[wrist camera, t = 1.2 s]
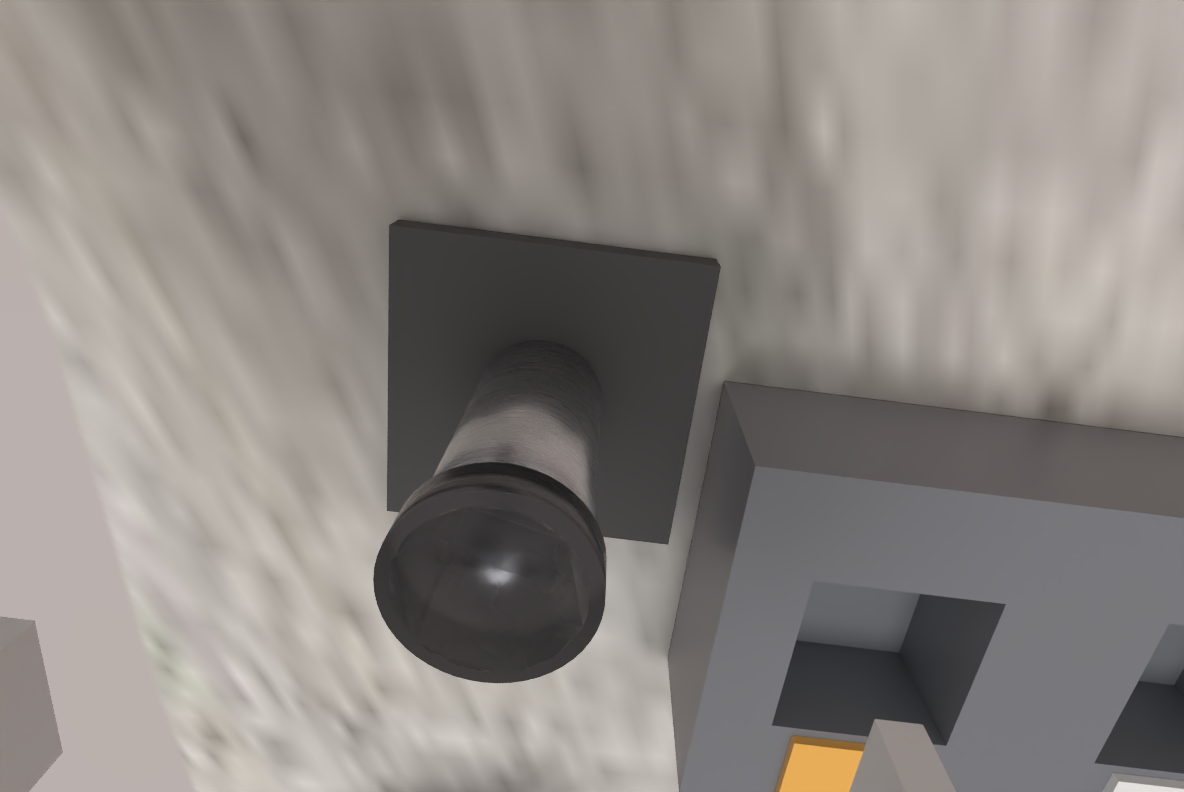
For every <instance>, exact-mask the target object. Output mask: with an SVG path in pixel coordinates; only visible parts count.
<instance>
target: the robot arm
mask: <svg viewBox="0 0 1184 792" xmlns="http://www.w3.org/2000/svg"><path fill="white" fill-rule="evenodd" d="M61 754H62V747H61V742H60V737H59V733H58V728H57V723H56V719H55V714H54V709H53V705H52V700H51V696H50V691H49V686H48V681H47V677H46V672H45V667H44V663H43V658H42V653H41V649H40V644H39V639H38V635H37V630H36V625H35V621H33V620H24V619H15V618H7V617H0V792H29V791H30V789H31V788H32V787H33V786H34V785H35V784H36V783H37V781H38V780H39V779H40V778H41V777H42V776H43V774H44V773H45V772H46V771H47V770H48V769H49V767H50V766H51V765H52V764H53V763H54V762H55V761H56V759H57V758H58V757H59V756H60V755H61ZM849 792H956V790H955V788H954V786H953V784H952V782H951V780H950V778H949V776H948V774H947V772H946V770H945V768H944V766H943V764H942V762H941V760H940V758H939V756H938V754H937V752H936V750H935V748H934V746H933V744H932V742H931V740H930V738H929V736H928V734H927V732H926V730H925V728H924V726H923V725H922V724H914V723H905V722H897V721H888V720H880V719H875V720H874V722H873V725H872V728H871V731H870V734H869V737H868V739H867V742H866V745H865V748H864V751H863V754H862V757H861V759H860V762H859V765H858V768H857V771H856V774H855V777H854V779H853V782H852V785H851V788H850V791H849Z"/></svg>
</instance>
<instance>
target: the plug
mask: <svg viewBox="0 0 1184 792" xmlns="http://www.w3.org/2000/svg"><path fill="white" fill-rule="evenodd" d="M601 403H602V395H601V388H600V383H599V381H598V378H597V376H596V374H595V372H594V370H593V369H592V367H591V366H590V365H589V363H588V362H587V361H586V360H585V359H584V358H583V357H582V356H581V355H579V354H578V353H577V352H575V351H574V350H572V349H571V348H569V347H567V346H564V345H562V344H559V343H556V342H552V341H546V340H530V341H525V342H520V343H517V344H514V345H512V346H510V347H508V348H506V349H505V350H503V351H502V352H500V353H499V354H498V355H497V356H496V357H495V358H494V359H493V360H492V361H491V362H490V364H489V365H488V367H487V368H486V370H485V372H484V374H483V376H482V378H481V380H480V382H479V384H478V386H477V388H476V390H475V392H474V394H473V397H472V399H471V401H470V403H469V405H468V407H467V409H466V411H465V413H464V415H463V417H462V419H461V421H460V423H459V425H458V427H457V429H456V431H455V433H454V435H453V437H452V439H451V441H450V443H449V445H448V447H447V449H446V451H445V453H444V455H443V457H442V459H441V461H440V464H439V466H438V468H437V470H436V472H435V474H434V476H433V478H431V479H429V480H428V481H426V482H425V483H424V484H422V485H421V486H420V487H419V488H418V489H416V490H415V491H414V492H413V494H412V495H411V496H410V497H409V498H408V499H407V500H406V502H405V504H404V505H403V507H402V508H401V510H400V512H399V514H398V515H397V517H396V519H395V521H394V523H393V525H392V527H391V529H390V530H389V532H388V534H387V536H386V538H385V540H384V542H383V544H382V546H381V548H380V551H379V553H378V555H377V559H376V563H375V567H374V579H373V580H374V592H375V597H376V601H377V605H378V607H379V610H380V612H381V615H382V617H383V619H384V621H385V622H386V624H387V626H388V628H389V629H390V630H391V632H392V633H393V634H394V636H395V637H396V638H397V639H398V640H399V641H400V642H401V643H402V644H403V645H404V646H405V648H407V649H408V650H409V651H410V652H411V653H413V654H414V655H415V656H416V657H418V658H419V659H421V660H422V661H424V662H426V663H427V664H429V665H431V666H433V667H435V668H437V669H439V670H440V671H443V672H445V673H448V674H451V675H453V676H456V677H460V678H464V679H467V680H473V681H479V682H488V683H511V682H519V681H525V680H529V679H533V678H537V677H540V676H543V675H546V674H548V673H551V672H553V671H555V670H557V669H559V668H561V667H562V666H564V665H565V664H567V663H568V662H570V661H571V660H573V659H574V658H575V657H576V656H577V655H578V654H579V653H581V652H582V651H583V650H584V648H585V647H586V646H587V645H588V644H589V642H590V641H591V640H592V638H593V636H594V635H595V633H596V631H597V629H598V627H599V624H600V622H601V620H602V616H603V612H604V607H605V591H606V548H605V543H604V539H603V535H602V532H601V530H600V528H599V525H598V523H597V521H596V519H595V505H596V488H597V471H598V454H599V437H600V420H601Z"/></svg>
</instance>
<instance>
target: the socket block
mask: <svg viewBox="0 0 1184 792" xmlns="http://www.w3.org/2000/svg"><path fill="white" fill-rule="evenodd" d="M668 668H669V679H670V691H671V703H672V714H673V726H674V738H675V749H676V761H677V773H678V784H679V792H849V791H850V788H851V785H852V782H853V779H854V777H855V774H856V771H857V768H858V765H859V762H860V759H861V757H862V754H863V751H864V748H865V745H866V742H867V739H868V737H869V734H870V731H871V728H872V725H873V722H874V720H875V719H880V720H888V721H897V722H905V723H914V724H922V725H923V726H924V728H925V730H926V732H927V734H928V736H929V738H930V740H931V742H932V744H933V746H934V748H935V750H936V752H937V754H938V756H939V758H940V760H941V762H942V764H943V766H944V768H945V770H946V772H947V774H948V776H949V778H950V780H951V782H952V784H953V786H954V788H955V790H956V792H1184V438H1181V437H1173V436H1165V435H1157V434H1149V433H1141V432H1133V431H1124V430H1116V429H1108V428H1100V427H1092V426H1084V425H1076V424H1068V423H1059V422H1051V421H1043V420H1035V419H1027V418H1019V417H1011V416H1002V415H994V414H986V413H978V412H970V411H962V410H954V409H946V408H937V407H929V406H921V405H913V404H905V403H897V402H889V401H881V400H872V399H864V398H856V397H848V396H840V395H832V394H824V393H815V392H807V391H799V390H791V389H783V388H775V387H767V386H759V385H750V384H742V383H734V382H726V381H724V384H723V389H722V394H721V399H720V404H719V409H718V414H717V419H716V424H715V428H714V433H713V438H712V443H711V448H710V453H709V458H708V463H707V468H706V473H705V478H704V483H703V487H702V492H701V497H700V502H699V507H698V512H697V517H696V522H695V527H694V532H693V537H692V542H691V546H690V551H689V556H688V561H687V566H686V571H685V576H684V581H683V586H682V591H681V596H680V601H679V605H678V610H677V615H676V620H675V625H674V630H673V635H672V640H671V645H670V650H669V655H668Z"/></svg>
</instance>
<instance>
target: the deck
mask: <svg viewBox="0 0 1184 792" xmlns="http://www.w3.org/2000/svg"><path fill="white" fill-rule="evenodd" d="M720 267H721V266H720V265H719V263H718V261H717V260H716V259H708V258H700V257H692V256H684V255H676V254H668V253H660V252H652V251H644V250H636V249H628V248H620V247H612V246H604V245H596V244H588V243H580V242H572V241H564V240H556V239H548V238H540V237H532V236H524V235H516V234H508V233H500V232H492V231H484V230H476V229H468V228H460V227H452V226H444V225H436V224H428V223H420V222H412V221H404V220H398V221H396V222H394V223H392V224H390V225H389V334H388V460H387V511H394V512H400V510H401V508H402V507H403V505H404V504H405V502H406V500H407V499H408V498H409V497H410V496H411V495H412V494H413V492H414V491H415V490H416V489H418V488H419V487H420V486H421V485H422V484H424V483H425V482H426V481H428V480H429V479H431V478H433V476H434V474H435V472H436V470H437V468H438V466H439V464H440V461H441V459H442V457H443V455H444V453H445V451H446V449H447V447H448V445H449V443H450V441H451V439H452V437H453V435H454V433H455V431H456V429H457V427H458V425H459V423H460V421H461V419H462V417H463V415H464V413H465V411H466V409H467V407H468V405H469V403H470V401H471V399H472V397H473V394H474V392H475V390H476V388H477V386H478V384H479V382H480V380H481V378H482V376H483V374H484V372H485V370H486V368H487V367H488V365H489V364H490V362H491V361H492V360H493V359H494V358H495V357H496V356H497V355H498V354H499V353H500V352H502V351H503V350H505V349H506V348H508V347H510V346H512V345H514V344H517V343H520V342H525V341H530V340H546V341H552V342H556V343H559V344H562V345H564V346H567V347H569V348H571V349H572V350H574V351H575V352H577V353H578V354H579V355H581V356H582V357H583V358H584V359H585V360H586V361H587V362H588V363H589V365H590V366H591V367H592V369H593V370H594V372H595V374H596V376H597V378H598V381H599V383H600V388H601V395H602V403H601V420H600V437H599V454H598V471H597V488H596V505H595V519H596V521H597V523H598V525H599V528H600V530H601V532H602V535H603V537H610V538H619V539H627V540H635V541H644V542H652V543H660V544H668V543H669V537H670V532H671V527H672V521H673V516H674V511H675V506H676V500H677V495H678V490H679V484H680V479H681V474H682V468H683V463H684V458H685V453H686V447H687V442H688V437H689V431H690V426H691V421H692V415H693V410H694V405H695V400H696V394H697V389H698V384H699V378H700V373H701V368H702V362H703V357H704V352H705V347H706V341H707V336H708V331H709V325H710V320H711V315H712V310H713V304H714V299H715V294H716V288H717V283H718V278H719V272H720Z"/></svg>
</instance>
